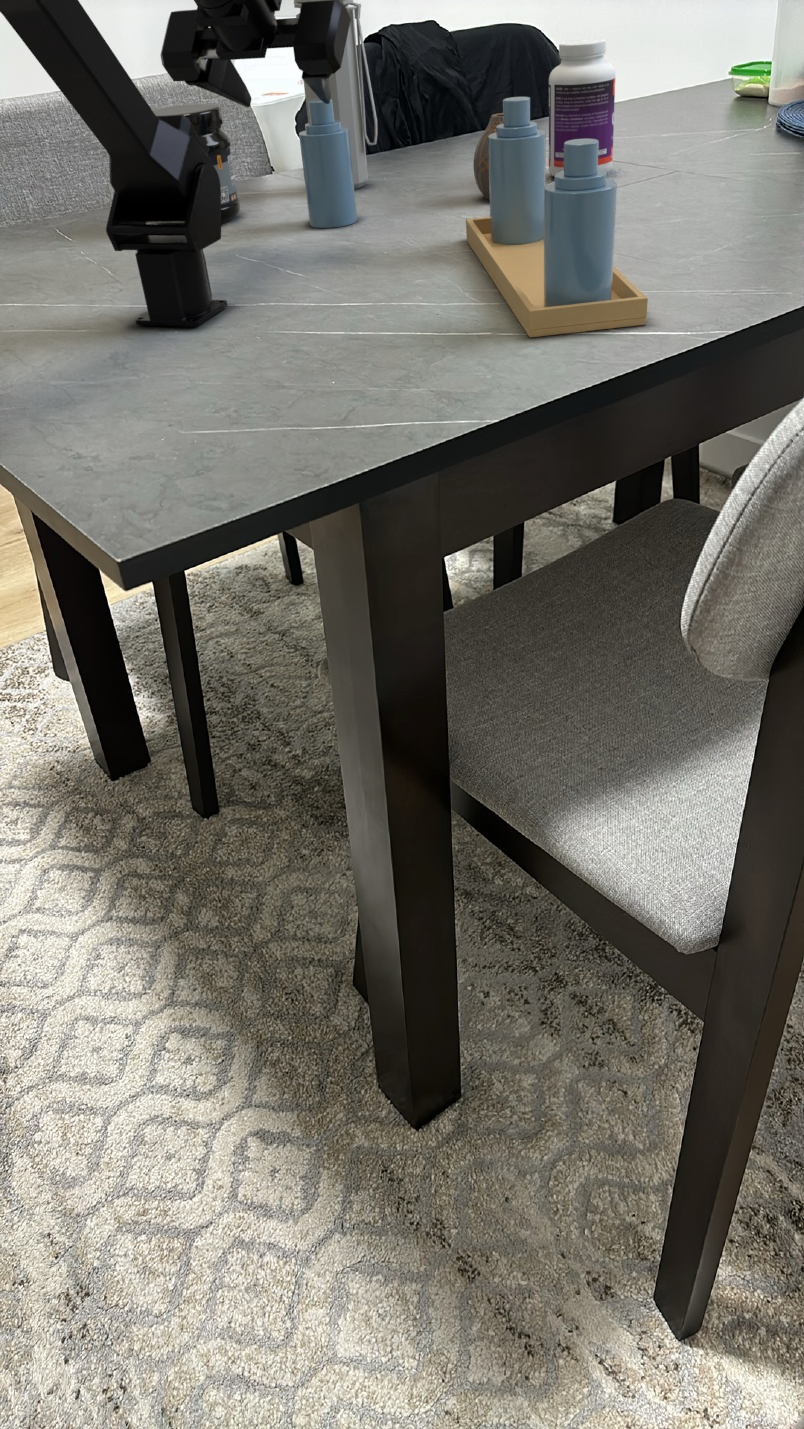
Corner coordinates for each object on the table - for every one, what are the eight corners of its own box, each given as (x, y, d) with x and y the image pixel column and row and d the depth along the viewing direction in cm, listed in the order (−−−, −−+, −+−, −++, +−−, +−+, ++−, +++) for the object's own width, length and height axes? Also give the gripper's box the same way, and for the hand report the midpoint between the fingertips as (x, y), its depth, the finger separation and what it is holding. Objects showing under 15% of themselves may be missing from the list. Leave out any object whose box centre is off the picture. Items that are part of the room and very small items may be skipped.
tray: (646, 324, 84) (648, 297, 82) (529, 337, 83) (529, 311, 82) (555, 230, 110) (555, 209, 109) (466, 240, 110) (465, 219, 109)
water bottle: (306, 194, 136) (278, -40, 121) (326, 181, 142) (302, -44, 127) (372, 193, 133) (351, -47, 118) (390, 180, 139) (373, -50, 124)
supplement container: (142, 223, 129) (118, 114, 122) (214, 206, 134) (196, 100, 127) (182, 235, 123) (160, 119, 115) (257, 216, 127) (241, 105, 120)
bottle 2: (619, 316, 84) (627, 143, 76) (551, 323, 84) (553, 151, 76) (601, 297, 89) (607, 132, 81) (537, 304, 88) (537, 139, 81)
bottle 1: (550, 241, 105) (551, 99, 97) (495, 247, 105) (492, 105, 97) (538, 228, 109) (539, 92, 102) (486, 234, 109) (483, 98, 101)
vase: (536, 190, 127) (536, 108, 122) (526, 202, 122) (525, 118, 117) (481, 191, 129) (478, 111, 124) (469, 204, 124) (466, 121, 118)
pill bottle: (624, 175, 130) (630, 39, 121) (567, 184, 128) (570, 47, 119) (591, 166, 136) (595, 36, 127) (537, 175, 134) (537, 44, 125)
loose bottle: (346, 228, 119) (334, 103, 111) (302, 228, 121) (287, 105, 113) (364, 216, 123) (352, 95, 115) (320, 216, 125) (307, 97, 117)
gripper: (330, -112, 91) (386, 25, 105) (149, -92, 97) (225, 35, 111) (305, 4, 90) (365, 126, 105) (123, 17, 96) (204, 131, 110)
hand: (288, 101), depth 108 cm, fingers open, 9 cm apart
